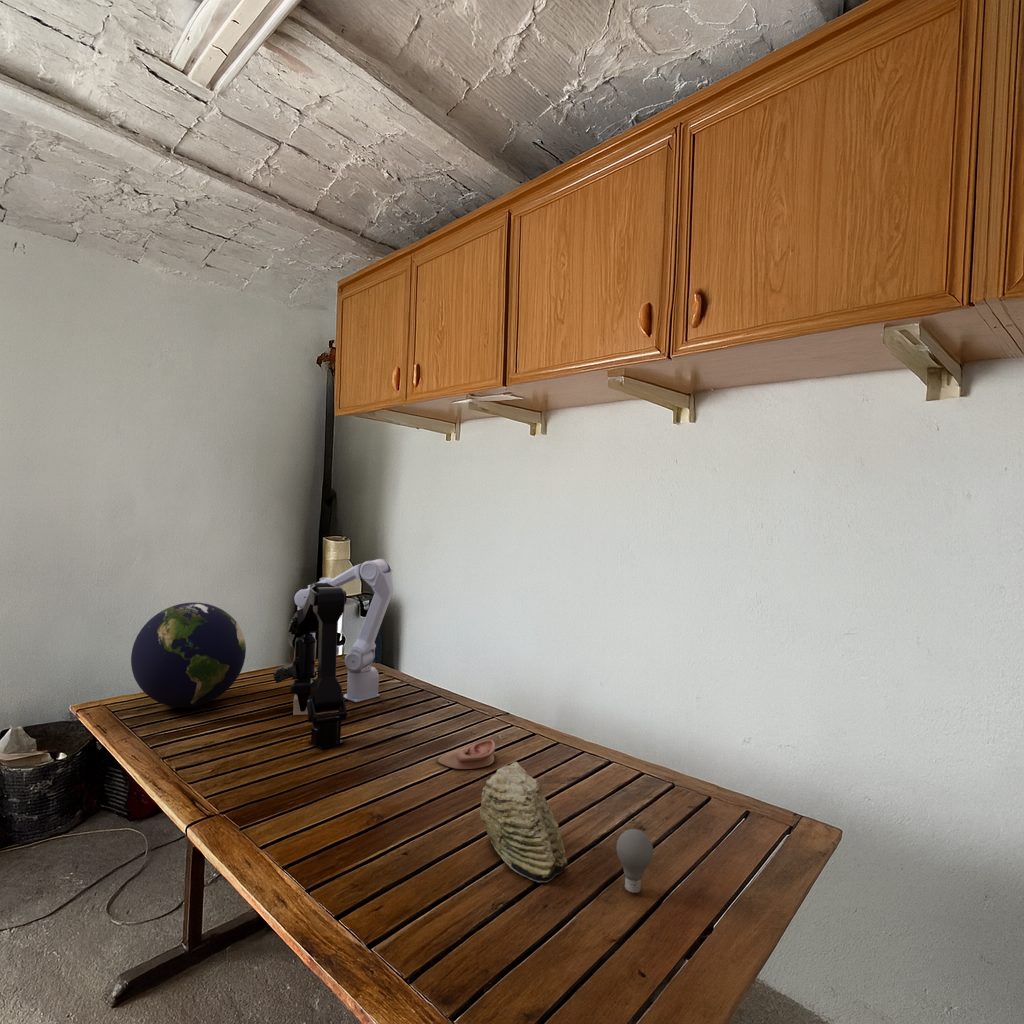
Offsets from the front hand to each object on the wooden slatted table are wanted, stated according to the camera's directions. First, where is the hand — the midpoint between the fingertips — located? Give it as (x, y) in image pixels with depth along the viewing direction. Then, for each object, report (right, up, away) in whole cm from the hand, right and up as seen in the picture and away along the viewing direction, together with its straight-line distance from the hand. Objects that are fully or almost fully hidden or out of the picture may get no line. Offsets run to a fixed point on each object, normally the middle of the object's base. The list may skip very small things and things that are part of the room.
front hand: (303, 708), depth 184 cm
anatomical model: (+50, -4, -29) cm, 58 cm away
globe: (-34, 0, +1) cm, 34 cm away
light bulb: (+81, -6, -79) cm, 113 cm away
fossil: (+62, -5, -70) cm, 94 cm away
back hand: (-6, +7, +19) cm, 21 cm away
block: (0, -1, 0) cm, 1 cm away
